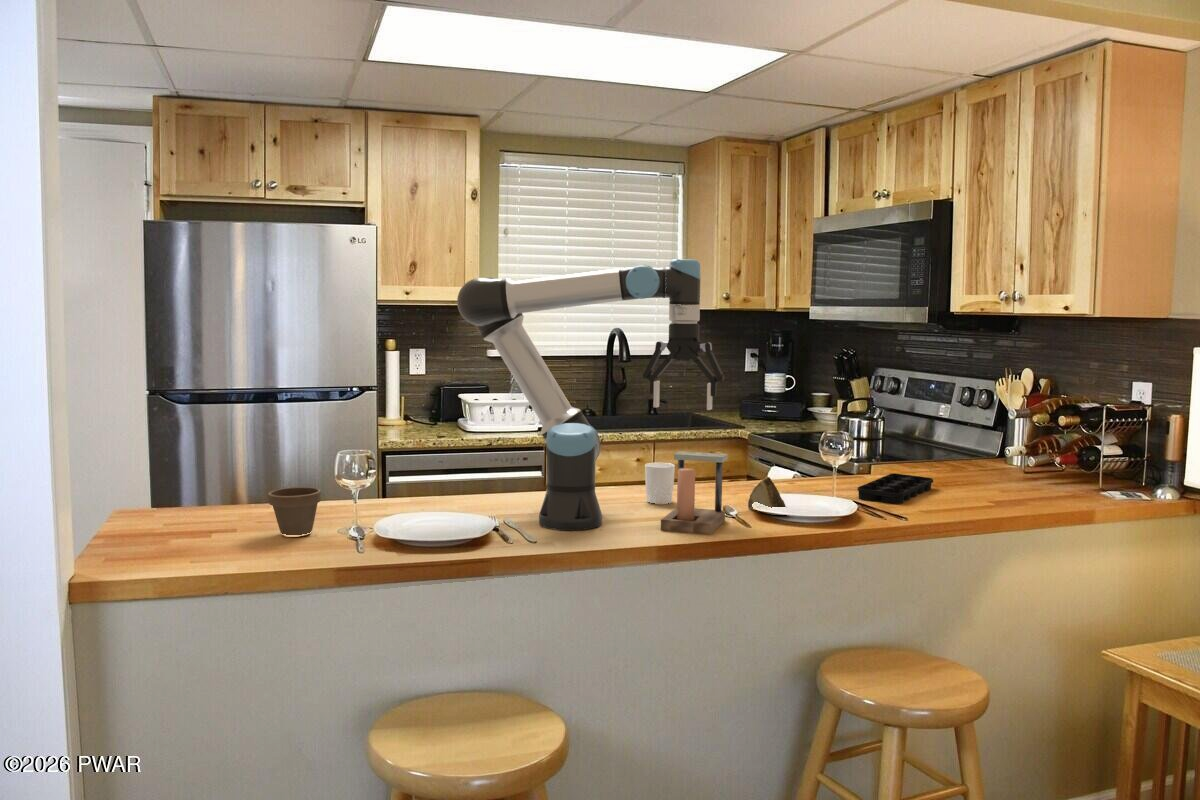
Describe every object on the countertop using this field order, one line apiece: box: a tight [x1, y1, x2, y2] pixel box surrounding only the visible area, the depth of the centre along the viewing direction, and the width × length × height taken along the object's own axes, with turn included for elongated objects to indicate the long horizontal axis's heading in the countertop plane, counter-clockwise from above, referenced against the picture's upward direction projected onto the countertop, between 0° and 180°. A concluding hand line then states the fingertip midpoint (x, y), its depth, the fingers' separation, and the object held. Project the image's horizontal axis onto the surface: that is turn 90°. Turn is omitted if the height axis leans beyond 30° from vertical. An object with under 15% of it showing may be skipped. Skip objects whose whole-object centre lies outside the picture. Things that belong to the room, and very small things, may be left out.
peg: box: [676, 467, 696, 521], centre depth 235 cm, size 4×4×14 cm
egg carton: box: [856, 473, 934, 505], centre depth 278 cm, size 18×30×4 cm, turn 156°
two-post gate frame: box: [673, 450, 728, 512], centre depth 243 cm, size 12×5×14 cm, turn 71°
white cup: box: [644, 462, 676, 505], centre depth 264 cm, size 8×8×10 cm
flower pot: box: [267, 486, 322, 535], centre depth 225 cm, size 12×11×10 cm
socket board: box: [660, 507, 726, 535], centre depth 238 cm, size 12×15×2 cm
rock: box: [747, 475, 787, 513], centre depth 254 cm, size 11×9×10 cm
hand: (682, 408), depth 248 cm, fingers open, 13 cm apart
